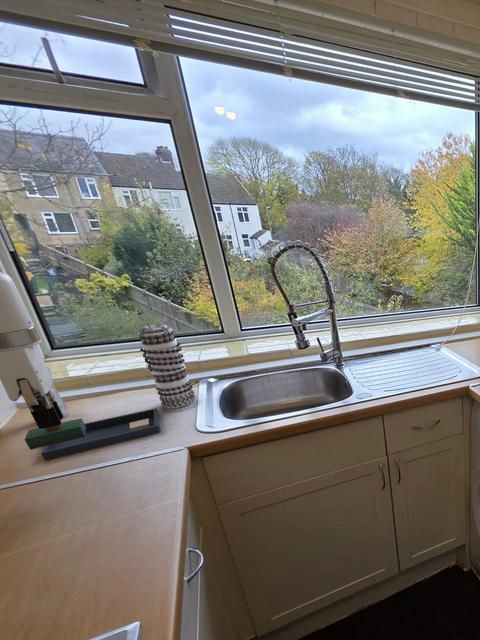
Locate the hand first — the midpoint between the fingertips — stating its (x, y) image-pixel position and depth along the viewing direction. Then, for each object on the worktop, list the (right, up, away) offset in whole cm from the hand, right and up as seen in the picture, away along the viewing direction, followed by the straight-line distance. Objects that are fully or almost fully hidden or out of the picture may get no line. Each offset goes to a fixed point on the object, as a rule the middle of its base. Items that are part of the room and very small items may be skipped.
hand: (51, 422), depth 85 cm
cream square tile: (-6, -4, +27) cm, 28 cm away
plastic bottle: (-35, -2, +32) cm, 47 cm away
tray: (-11, -6, +23) cm, 27 cm away
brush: (0, -4, +1) cm, 4 cm away
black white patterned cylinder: (-7, +1, +42) cm, 42 cm away
